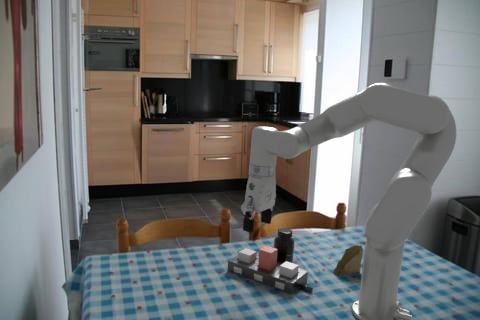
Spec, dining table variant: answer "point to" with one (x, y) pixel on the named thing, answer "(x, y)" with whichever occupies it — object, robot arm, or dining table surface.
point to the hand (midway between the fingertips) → (257, 226)
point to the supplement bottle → (284, 245)
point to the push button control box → (269, 275)
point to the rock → (350, 261)
